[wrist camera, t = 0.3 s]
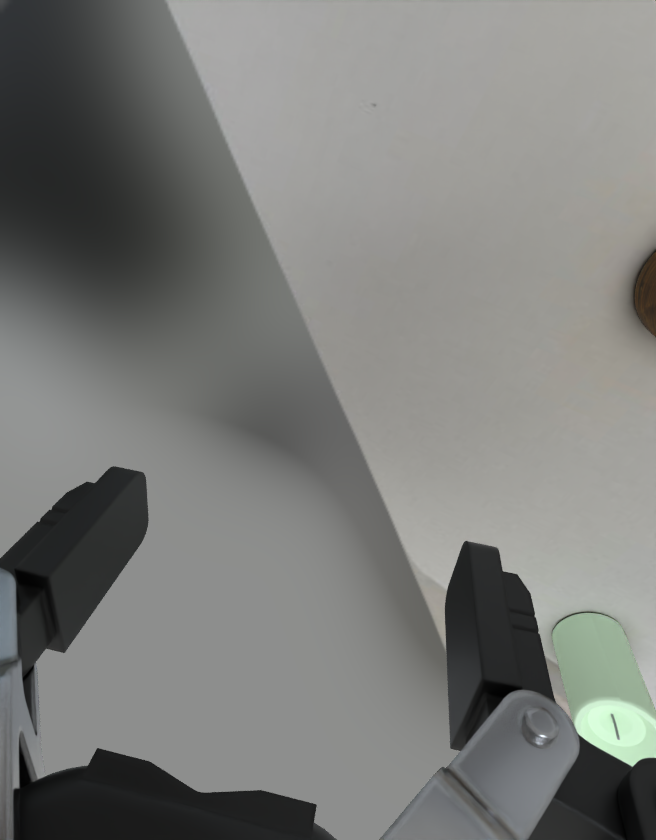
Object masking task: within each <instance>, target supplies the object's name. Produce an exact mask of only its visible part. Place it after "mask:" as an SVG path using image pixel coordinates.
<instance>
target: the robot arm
mask: <svg viewBox="0 0 656 840" xmlns="http://www.w3.org/2000/svg"><path fill="white" fill-rule="evenodd" d="M147 527H148V505H147V489H146V477H145V475H144V473H143V472H139V471H134V470H129V469H124V468H119V467H111V468H110V469H108V470H107V471H106V472H105V473H104V475H102V477H101V478H100V479H99V480H98V481H97V482H96V483H90V482H86V483H84V484H82V485H80V486H79V487H76V488H75V489H73V490H71V491H69V492H67V493H66V494H65V495H64V496H63V497H62V498H61V499H60V500H59V501H58V502H57V503H56V504H55V505H54V506H53V507H52V510H49V511H48V512H47V513H46V514H45V515H44V516H43V517H42V518H41V520H40V522H37V523H36V524H35V525H34V526H33V527H32V528H31V529H30V530H29V531H28V532H27V533H26V534H25V535H24V536H23V537H22V538H21V539H20V540H19V541H18V542H16V543H15V544H14V545H13V546H12V547H11V548H10V549H9V551H8V552H6V553H5V554H4V555H3V557H1V558H0V840H337V839H335V838H334V837H333V836H332V835H331V834H329V833H328V832H327V831H326V830H325V829H323V828H321V827H320V826H318V825H317V824H315V823H314V817H315V811H316V804H313V803H309V802H305V801H301V800H297V799H293V798H289V797H285V796H281V795H277V794H274V793H269V792H266V791H261V790H257V791H238V792H237V791H235V792H212V793H201V792H197V791H195V790H193V789H192V788H190V787H189V786H187V785H186V784H184V783H183V782H181V781H179V780H178V779H176V778H175V777H173V776H171V775H170V774H168V773H167V772H165V771H164V770H162V769H161V768H159V767H157V766H156V765H154V764H153V763H151V762H149V761H145V760H141V759H138V758H134V757H130V756H126V755H122V754H118V753H114V752H110V751H106V750H102V749H99V748H97V750H96V752H95V754H94V755H93V757H92V759H91V761H90V763H89V765H88V766H81V767H76V768H70V769H66V770H62V771H59V772H55V773H52V774H50V775H47V776H45V769H44V763H43V756H42V748H41V734H40V714H39V695H38V677H37V665H36V661H37V660H38V658H39V657H40V655H41V654H42V653H43V651H44V650H45V649H51V650H54V651H59V652H63V653H65V651H66V650H67V649H68V647H69V645H70V644H71V643H72V641H73V640H74V639H75V637H76V636H77V634H78V633H79V631H80V630H81V628H82V627H83V626H84V624H85V623H86V621H87V620H88V618H89V617H90V616H91V614H92V613H93V611H94V610H95V609H96V607H97V605H98V604H99V603H100V601H101V600H102V599H103V597H104V596H105V594H106V593H107V591H108V590H109V589H110V587H111V586H112V584H113V583H114V581H115V580H116V579H117V577H118V575H119V574H120V573H121V571H122V570H123V569H124V567H125V565H126V564H127V563H128V561H129V560H130V559H131V557H132V556H133V554H134V553H135V551H136V550H137V549H138V547H139V546H140V544H141V543H142V541H143V539H144V536H145V534H146V531H147ZM534 615H535V612H534V608H533V603H532V599H531V594H530V592H529V591H528V590H527V588H526V587H525V585H524V584H523V582H522V581H521V579H520V578H519V576H518V575H517V574H513V573H508V572H503V571H502V565H501V560H500V554H499V550H498V548H497V547H492V546H488V545H483V544H478V543H473V542H468V541H465V542H464V543H463V546H462V548H461V551H460V554H459V557H458V560H457V563H456V565H455V568H454V571H453V574H452V577H451V580H450V583H449V586H448V590H447V595H446V602H445V625H446V650H447V675H448V697H449V698H448V699H449V724H450V748H451V749H455V750H459V751H460V752H459V754H458V755H457V756H456V757H455V758H454V760H453V761H452V762H451V763H450V764H449V766H447V767H446V768H444V767H442V768H440V769H439V770H438V771H437V772H436V773H435V774H434V775H433V776H432V778H431V779H430V780H429V781H428V782H427V784H426V785H425V786H424V787H423V788H422V789H421V791H420V792H419V793H418V794H417V795H416V797H415V798H414V799H413V800H412V801H411V802H410V804H409V805H408V806H407V807H406V808H405V810H404V811H403V812H402V813H401V815H400V816H399V817H398V818H397V819H396V820H395V822H394V823H393V824H392V825H391V826H390V827H389V829H388V830H387V831H386V832H385V834H384V835H383V836H382V837H381V838H380V839H379V840H656V758H644V759H641V760H639V761H638V762H637V763H636V764H635V765H634V766H633V767H632V766H630V765H629V764H627V763H625V762H623V761H621V760H620V759H618V758H616V757H614V756H612V755H610V754H609V753H607V752H605V751H603V750H601V749H599V748H598V747H596V746H594V745H593V744H591V743H589V742H588V741H587V740H585V739H584V738H583V737H581V736H580V735H579V734H578V733H577V731H576V728H575V726H574V724H573V722H572V721H571V719H570V718H569V716H568V715H567V714H566V712H565V711H564V710H563V709H562V708H561V707H560V706H559V705H558V704H556V702H555V699H554V695H553V691H552V687H551V682H550V678H549V673H548V669H547V665H546V660H545V656H544V651H543V647H542V643H541V638H540V634H538V625H537V621H536V618H535V617H534Z"/></svg>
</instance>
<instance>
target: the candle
mask: <svg viewBox="0 0 656 840" xmlns="http://www.w3.org/2000/svg"><path fill="white" fill-rule="evenodd" d="M552 640H553V645H554V649H555V653H556V657H557V661H558V665H559V669H560V673H561V677H562V681H563V685H564V689H565V693H566V697H567V701H568V705H569V709H570V713H571V717H572V721H573V724H574V726H575V728H576V731H577V733H578V734H579V735H580V736H581V737H583V738H584V739H585V740H587V741H588V742H589V743H591V744H593V745H594V746H596V747H598V748H599V749H601V750H603V751H605V752H607V753H609V754H610V755H612V756H614V757H616V758H618V759H620V760H621V761H623V762H625V763H627V764H629V765H630V766H632V767H633V766H634V765H635V764H636V763H637V762H638V761H639V760H641V759H644V758H656V710H655V707H654V705H653V702H652V700H651V697H650V695H649V692H648V690H647V687H646V685H645V683H644V680H643V678H642V675H641V673H640V670H639V668H638V665H637V663H636V660H635V658H634V655H633V653H632V650H631V648H630V645H629V643H628V640H627V638H626V635H625V633H624V631H623V629H622V626H621V625H620V624H619V623H618V622H617V621H615V620H614V619H612V618H610V617H608V616H605V615H601V614H595V613H580V614H576V615H572V616H570V617H567V618H565V619H563V620H562V621H561V622H560V623H558V624H557V626H556V627H555V628H554V630H553V633H552Z"/></svg>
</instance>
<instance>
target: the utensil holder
mask: <svg viewBox="0 0 656 840" xmlns="http://www.w3.org/2000/svg"><path fill="white" fill-rule="evenodd" d="M635 306H636V310H637V313H638V315H639V317H640V319H641V321H642V322H643V324H644V325H645V327H646V328H647V329H648V330H649V331H650V332H651V333H652V334H653V335H654V336H655V337H656V252H655V253H654V254H653V255H652V256H651V257H650V259H649V260H648V261H647V263H646V264H645V266H644V267H643V269H642V271H641V273H640V275H639V277H638V280H637V284H636V288H635Z"/></svg>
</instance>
